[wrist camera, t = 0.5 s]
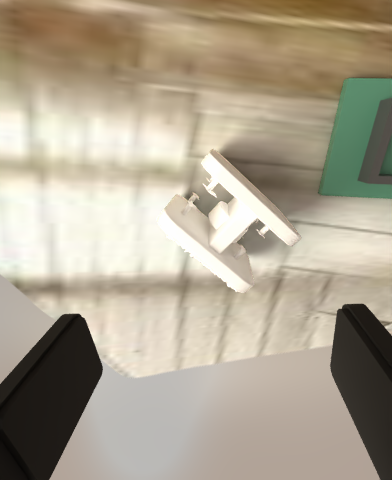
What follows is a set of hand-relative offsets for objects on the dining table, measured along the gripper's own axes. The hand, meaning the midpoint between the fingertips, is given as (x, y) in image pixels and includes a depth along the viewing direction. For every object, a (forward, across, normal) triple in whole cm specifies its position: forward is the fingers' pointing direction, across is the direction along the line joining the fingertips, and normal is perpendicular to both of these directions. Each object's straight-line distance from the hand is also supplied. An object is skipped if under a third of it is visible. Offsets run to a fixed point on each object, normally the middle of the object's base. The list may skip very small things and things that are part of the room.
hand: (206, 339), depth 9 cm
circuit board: (+30, -24, -3) cm, 39 cm away
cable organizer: (+30, -1, +3) cm, 30 cm away
